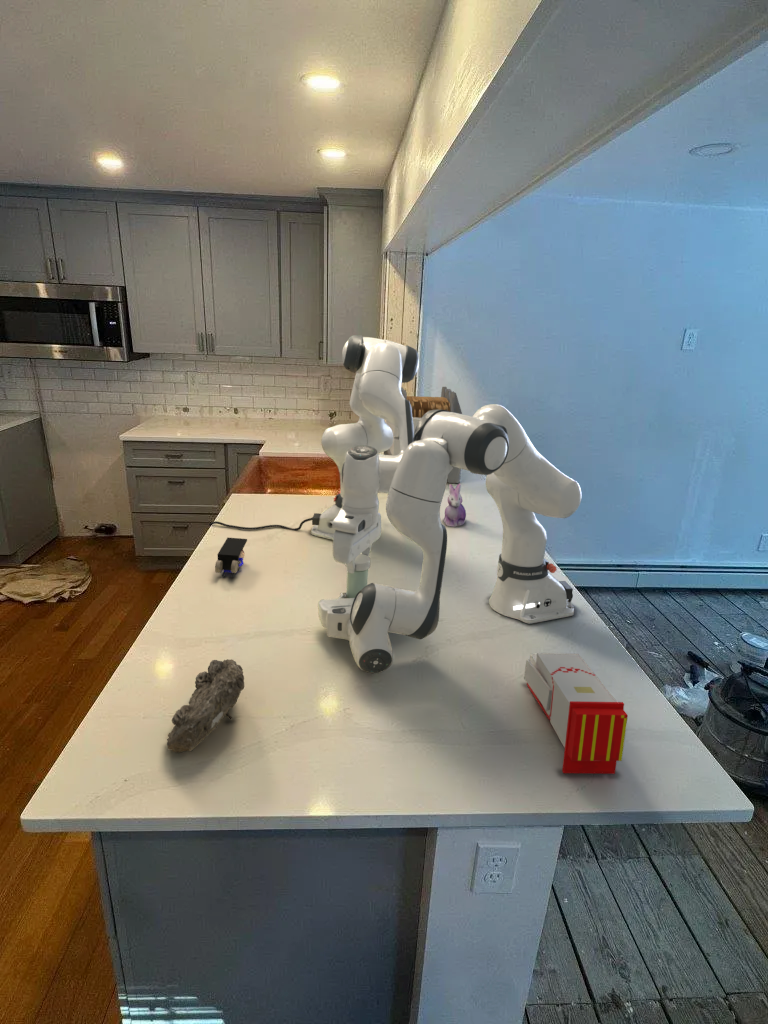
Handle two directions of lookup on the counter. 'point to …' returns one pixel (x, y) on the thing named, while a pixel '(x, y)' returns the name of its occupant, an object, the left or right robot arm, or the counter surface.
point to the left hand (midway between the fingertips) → (358, 566)
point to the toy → (578, 711)
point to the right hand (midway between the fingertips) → (355, 594)
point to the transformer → (419, 409)
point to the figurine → (454, 508)
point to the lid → (362, 562)
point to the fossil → (206, 705)
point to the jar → (356, 582)
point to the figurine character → (230, 556)
